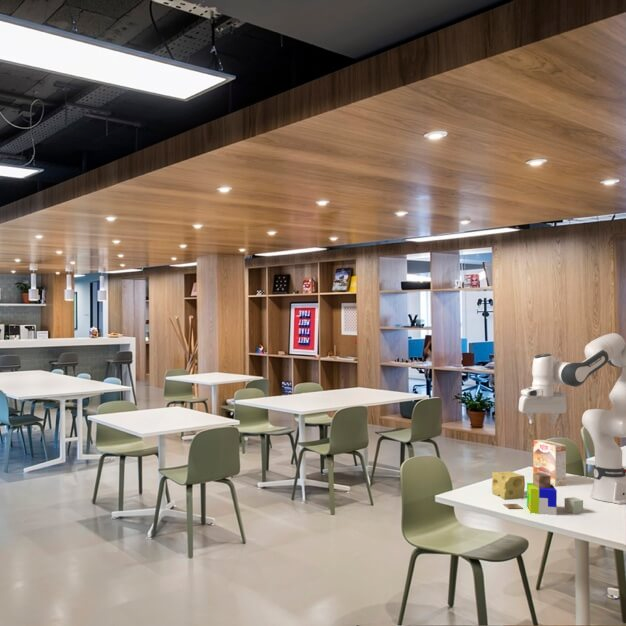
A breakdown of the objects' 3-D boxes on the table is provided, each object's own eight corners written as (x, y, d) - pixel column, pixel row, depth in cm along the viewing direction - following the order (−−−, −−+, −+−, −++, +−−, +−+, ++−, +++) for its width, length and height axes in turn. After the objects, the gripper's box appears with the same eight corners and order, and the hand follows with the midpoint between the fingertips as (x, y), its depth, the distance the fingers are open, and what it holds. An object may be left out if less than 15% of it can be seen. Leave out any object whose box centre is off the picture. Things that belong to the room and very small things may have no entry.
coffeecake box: (532, 479, 312) (532, 440, 313) (543, 478, 315) (543, 439, 315) (554, 486, 298) (555, 445, 299) (566, 485, 301) (566, 444, 302)
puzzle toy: (556, 515, 253) (556, 490, 253) (530, 513, 254) (530, 488, 255) (551, 508, 262) (552, 484, 263) (526, 506, 264) (527, 482, 264)
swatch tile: (516, 504, 266) (516, 503, 266) (522, 508, 260) (522, 507, 260) (503, 504, 266) (503, 504, 266) (509, 509, 260) (509, 508, 260)
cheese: (504, 499, 274) (504, 477, 274) (490, 493, 284) (491, 471, 284) (524, 498, 277) (525, 475, 277) (510, 492, 287) (510, 470, 287)
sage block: (573, 509, 262) (574, 497, 262) (583, 512, 257) (583, 500, 257) (564, 510, 260) (564, 498, 260) (573, 513, 255) (573, 501, 255)
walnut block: (544, 485, 261) (544, 473, 261) (550, 488, 256) (550, 475, 256) (532, 485, 261) (533, 473, 261) (538, 488, 256) (539, 476, 256)
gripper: (562, 390, 275) (561, 422, 275) (517, 390, 273) (516, 422, 272) (569, 392, 269) (569, 424, 268) (523, 392, 266) (523, 424, 266)
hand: (542, 423), depth 270 cm, fingers open, 8 cm apart
